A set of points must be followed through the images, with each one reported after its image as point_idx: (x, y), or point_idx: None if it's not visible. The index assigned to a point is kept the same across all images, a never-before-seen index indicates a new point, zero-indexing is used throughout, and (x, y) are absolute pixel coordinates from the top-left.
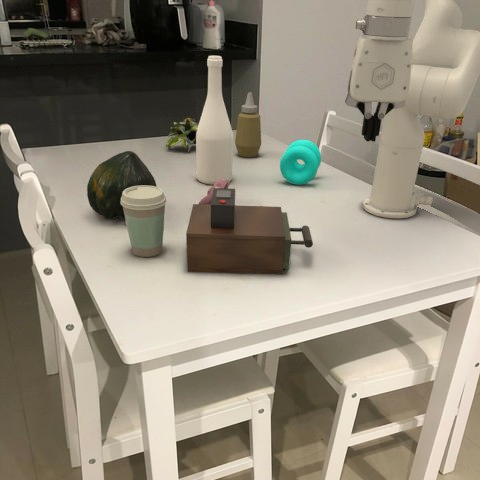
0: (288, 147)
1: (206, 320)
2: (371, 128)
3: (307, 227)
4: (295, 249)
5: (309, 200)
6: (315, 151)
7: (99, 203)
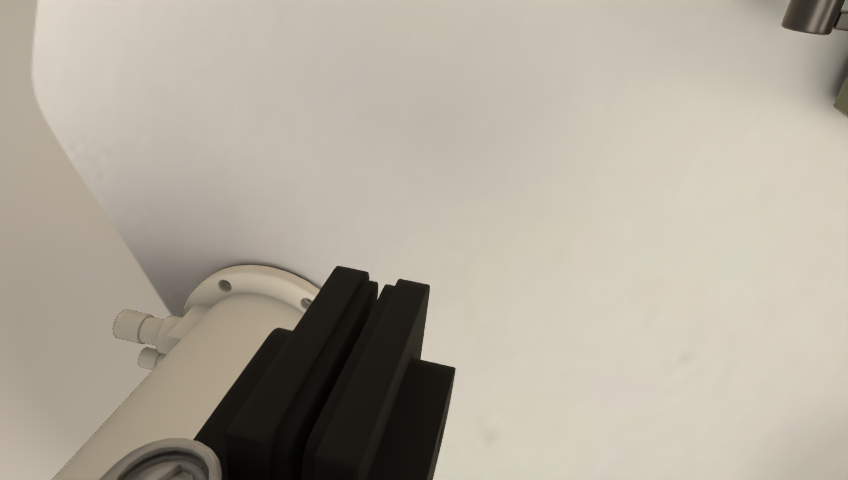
0: None
1: None
2: (358, 364)
3: (816, 3)
4: None
5: (533, 454)
6: None
7: None
